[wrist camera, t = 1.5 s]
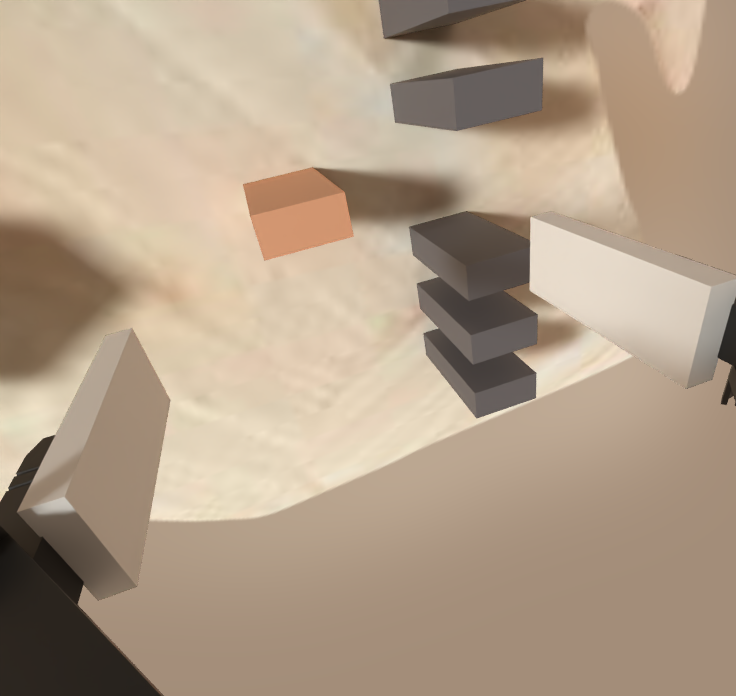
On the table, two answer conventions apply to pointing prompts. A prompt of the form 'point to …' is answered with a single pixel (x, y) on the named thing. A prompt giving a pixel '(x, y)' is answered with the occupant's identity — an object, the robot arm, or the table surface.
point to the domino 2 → (432, 13)
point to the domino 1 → (297, 212)
